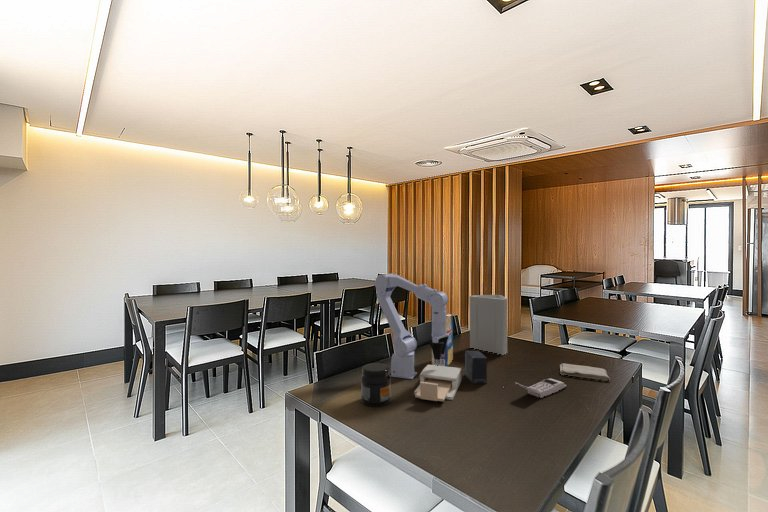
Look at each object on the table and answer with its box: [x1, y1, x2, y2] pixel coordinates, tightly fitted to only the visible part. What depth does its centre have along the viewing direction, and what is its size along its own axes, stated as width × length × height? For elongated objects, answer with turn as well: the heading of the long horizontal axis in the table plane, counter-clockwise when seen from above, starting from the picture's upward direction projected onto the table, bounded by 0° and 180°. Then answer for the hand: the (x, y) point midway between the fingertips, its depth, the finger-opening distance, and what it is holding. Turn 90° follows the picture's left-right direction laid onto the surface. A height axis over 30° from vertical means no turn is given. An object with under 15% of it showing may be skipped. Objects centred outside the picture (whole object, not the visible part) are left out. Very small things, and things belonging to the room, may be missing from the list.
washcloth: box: [559, 363, 611, 382], centre depth 151 cm, size 12×18×3 cm, turn 65°
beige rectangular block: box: [414, 380, 452, 402], centre depth 130 cm, size 10×16×6 cm, turn 159°
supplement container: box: [360, 362, 392, 407], centre depth 126 cm, size 10×10×12 cm
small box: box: [464, 350, 488, 385], centre depth 146 cm, size 11×6×10 cm, turn 3°
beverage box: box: [431, 313, 454, 367], centre depth 167 cm, size 7×11×22 cm, turn 153°
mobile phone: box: [515, 378, 567, 399], centre depth 132 cm, size 6×6×25 cm
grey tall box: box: [469, 294, 508, 356], centre depth 190 cm, size 19×15×28 cm
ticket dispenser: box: [413, 364, 463, 401], centre depth 138 cm, size 14×20×5 cm
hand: (439, 356), depth 143 cm, fingers open, 7 cm apart
